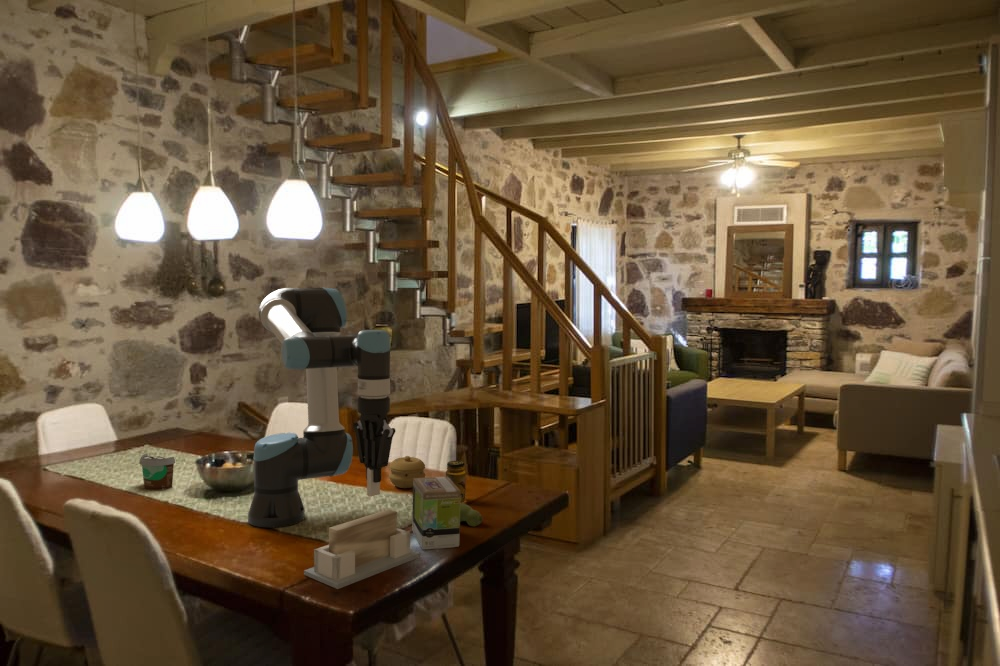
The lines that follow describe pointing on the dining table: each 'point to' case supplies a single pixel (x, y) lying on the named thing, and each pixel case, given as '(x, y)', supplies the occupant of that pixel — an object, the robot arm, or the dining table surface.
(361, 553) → the slat
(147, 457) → the food container
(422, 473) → the pot
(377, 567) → the frame
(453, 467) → the condiment
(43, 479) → the dining table surface
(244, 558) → the dining table surface
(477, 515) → the pear
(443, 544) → the tea box
